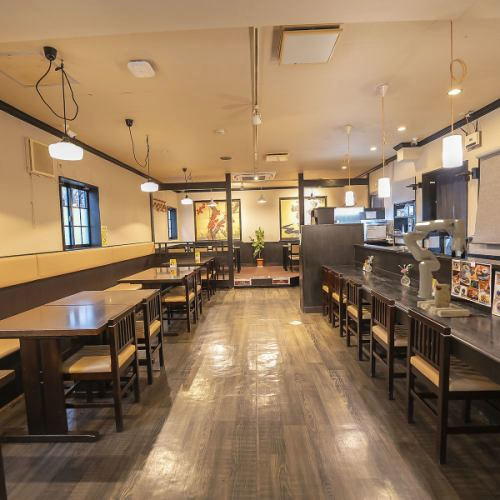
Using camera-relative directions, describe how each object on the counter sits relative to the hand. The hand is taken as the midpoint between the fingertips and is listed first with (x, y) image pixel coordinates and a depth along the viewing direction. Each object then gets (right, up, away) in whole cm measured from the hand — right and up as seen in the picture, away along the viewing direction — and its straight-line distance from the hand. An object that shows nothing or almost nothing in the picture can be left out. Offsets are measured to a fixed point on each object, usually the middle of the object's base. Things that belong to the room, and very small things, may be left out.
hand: (458, 258), depth 232 cm
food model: (-21, -38, -13) cm, 45 cm away
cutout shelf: (-21, -38, -13) cm, 45 cm away
